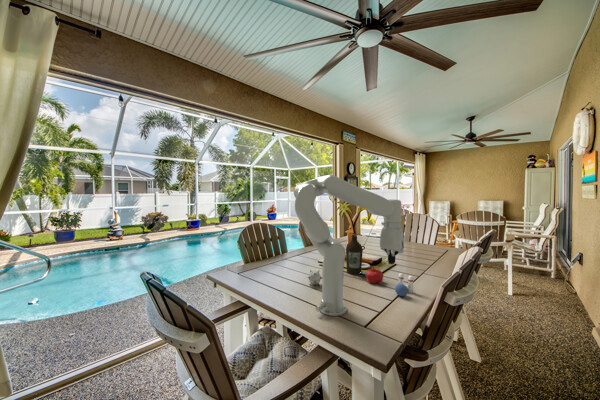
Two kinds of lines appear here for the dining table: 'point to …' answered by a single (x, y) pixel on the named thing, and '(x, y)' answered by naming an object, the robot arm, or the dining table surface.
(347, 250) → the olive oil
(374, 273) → the pomegranate
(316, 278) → the game die
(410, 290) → the pin
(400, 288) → the ball
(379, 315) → the dining table surface
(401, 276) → the pin
